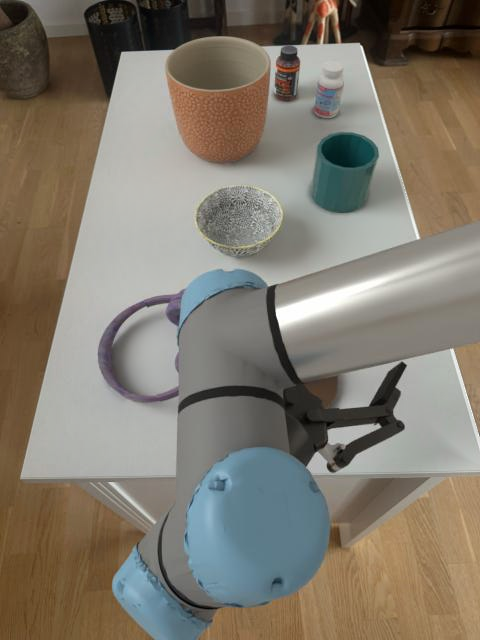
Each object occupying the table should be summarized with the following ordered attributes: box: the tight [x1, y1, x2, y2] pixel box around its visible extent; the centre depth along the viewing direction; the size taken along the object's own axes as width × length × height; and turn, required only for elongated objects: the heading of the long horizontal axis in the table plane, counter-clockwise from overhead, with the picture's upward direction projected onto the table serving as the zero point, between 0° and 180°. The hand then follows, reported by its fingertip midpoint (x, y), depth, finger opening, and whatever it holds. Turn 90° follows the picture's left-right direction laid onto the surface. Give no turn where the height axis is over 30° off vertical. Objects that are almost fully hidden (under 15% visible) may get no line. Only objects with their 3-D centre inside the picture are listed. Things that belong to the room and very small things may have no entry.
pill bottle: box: [313, 60, 345, 119], centre depth 104 cm, size 6×6×11 cm
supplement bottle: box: [273, 44, 301, 102], centre depth 109 cm, size 6×6×11 cm
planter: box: [164, 35, 272, 164], centre depth 95 cm, size 21×21×19 cm
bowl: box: [194, 184, 284, 257], centre depth 83 cm, size 16×16×8 cm
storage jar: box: [310, 131, 380, 214], centre depth 89 cm, size 12×12×10 cm
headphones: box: [97, 287, 187, 404], centre depth 70 cm, size 18×8×20 cm
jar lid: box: [303, 375, 339, 409], centre depth 66 cm, size 13×13×9 cm
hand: (353, 331), depth 54 cm, fingers open, 13 cm apart
